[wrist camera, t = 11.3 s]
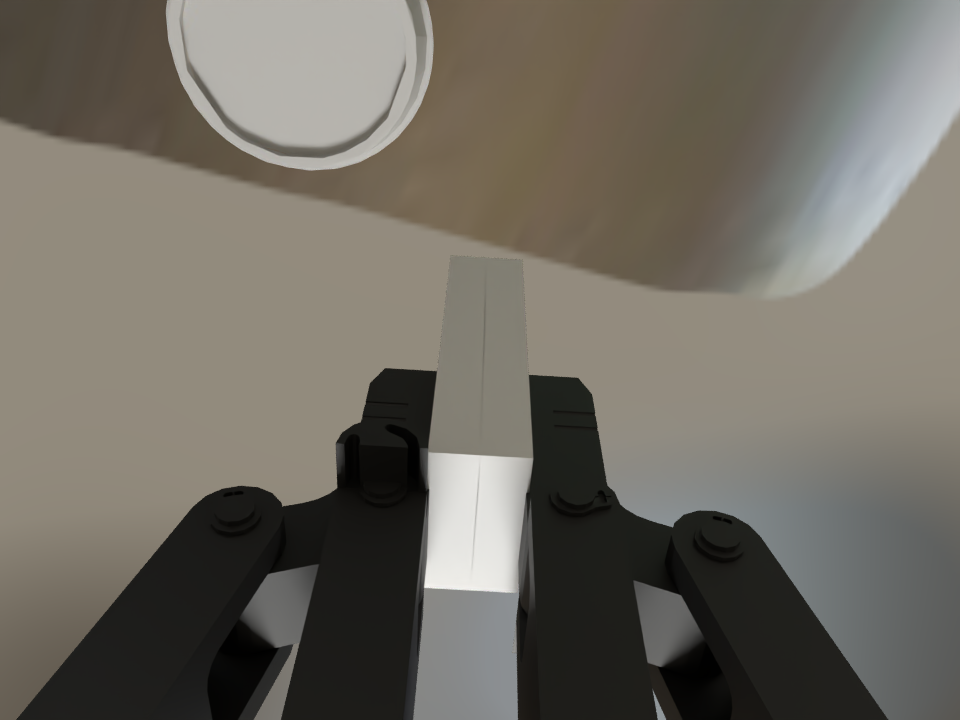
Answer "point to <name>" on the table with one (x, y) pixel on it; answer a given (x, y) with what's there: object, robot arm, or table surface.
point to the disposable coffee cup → (304, 73)
